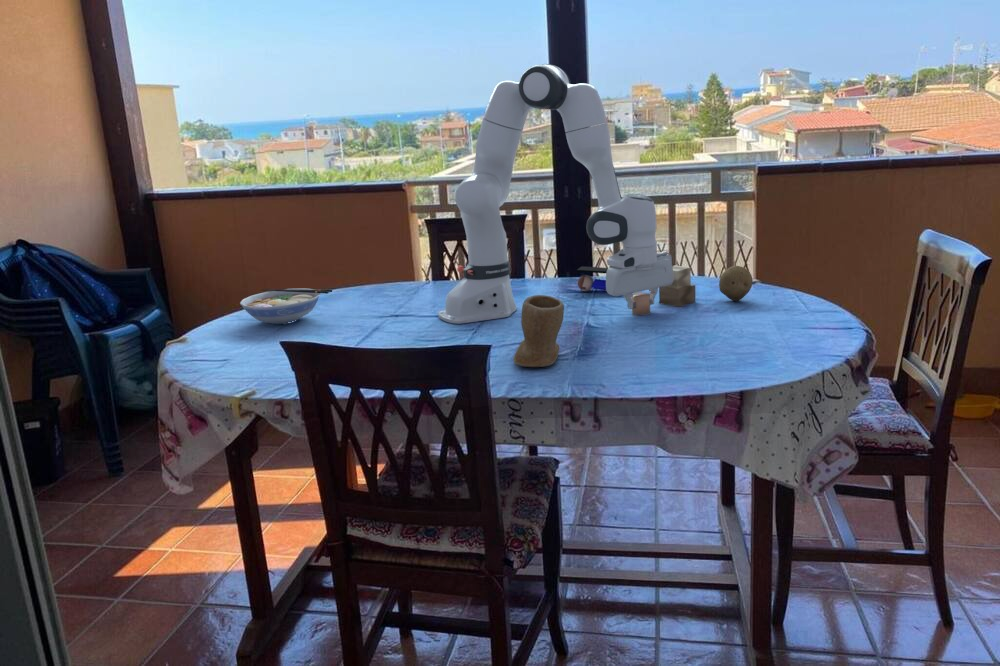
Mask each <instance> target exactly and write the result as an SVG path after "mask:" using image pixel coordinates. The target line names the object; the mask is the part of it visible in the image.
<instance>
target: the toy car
mask: <svg viewBox="0 0 1000 666" xmlns="http://www.w3.org/2000/svg"><path fill="white" fill-rule="evenodd" d="M608 268H609V267H598V266H597V267H596V266H595V267H594V266H583V265H582V266H580V267H579V268H577V269H576V273H593V274H606V273H607V269H608ZM577 287H578V288H579V290H580V291H582V292H589V291H591V290H592V289H593V290H601V291H606V279H599V278H595V279H594V278H593V277H592V276H591V275H589V274H588V275H587V274H583V275H581V276H580V277H578V279H577Z"/></svg>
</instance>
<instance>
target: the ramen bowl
mask: <svg viewBox="0 0 1000 666" xmlns="http://www.w3.org/2000/svg"><path fill="white" fill-rule="evenodd" d="M262 291H265V292H261V293H257V294H253V295H250V296H248V297H247V296H246V297H245V298H243V299H242V300H241V301H240V302H239V304H240V305H241V307H242V308H243V309H244V310H245V312H246V313H247V314H249V315H250V316H251V317H252V318H254V319H255V320H258V321H260V322H264V323H270V324H272V325H274V324H283V325H285V324H284V323H288V322H292V321H295V320H297V319H298V320H299V319H301V318H303V317H304V316H307V315H309V313H311V312H312V311H313V310H314V308H315V307H316V305H317V302H319V301H318V300H319V298H320V294H329V293H333V289H315V288H314V289H313V288H305V287H304V288H286V289H284V288H283V289H278V288H277V289H274V288H273V289H267V288H266V289H262ZM298 320H297V321H298ZM295 322H296V321H295Z"/></svg>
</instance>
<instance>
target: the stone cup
mask: <svg viewBox="0 0 1000 666" xmlns="http://www.w3.org/2000/svg"><path fill="white" fill-rule="evenodd" d="M564 313H565V305H564V303H563V302H562V301H561V300H560V299H559V298H556V296H555V297H554V296H550V295H544V294H535V295H531V296H528V297H527V298H526V299H524V301H523V303H522V306H521V313H520V315H521V317H520V318H521V320H520V325H521V329H522V333H523V337H524V340H522V341H521V342H520V344H519V345H518V347H517V350H516V351H515V353H514V356H513V359H512V361H513V363H514V364H515V365H517V366H519V367H527V368H540V367H541V368H542V367H543V368H544V367H549V366H551V365H553V364H554V363H555V362H556V361H557V359H558V356H559V352H560V348H561V346H560V344H558V343H557V338H558V336H559V333H560V330H561V328H562V324H563V321H564Z"/></svg>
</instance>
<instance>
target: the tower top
mask: <svg viewBox="0 0 1000 666" xmlns="http://www.w3.org/2000/svg"><path fill="white" fill-rule="evenodd" d="M672 267H673V274H674V281H673V283H672V285H669V286H664V287H669V288H675V289H679V288H683V287H686V286H690V285H691V284H692V283H691V277H692V276H691V272H692V271H691V269H692V268H691V267H688V266H683V265H676V264H675V265H672Z"/></svg>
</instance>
